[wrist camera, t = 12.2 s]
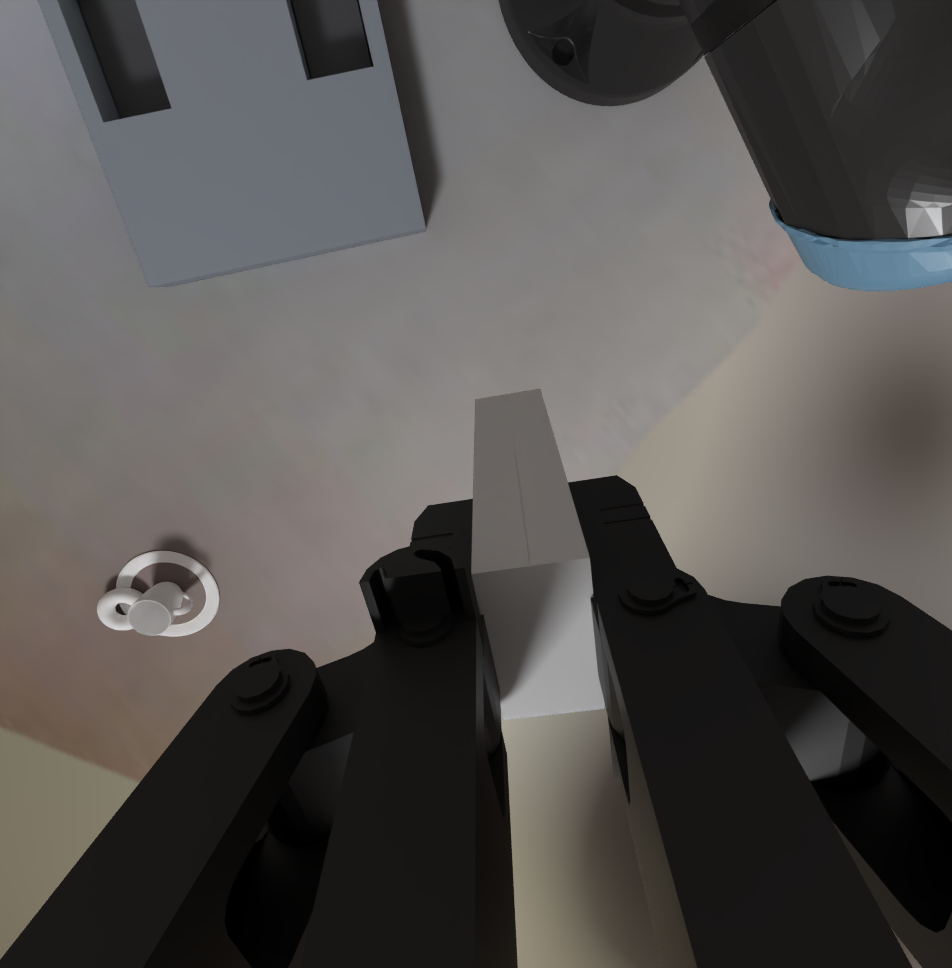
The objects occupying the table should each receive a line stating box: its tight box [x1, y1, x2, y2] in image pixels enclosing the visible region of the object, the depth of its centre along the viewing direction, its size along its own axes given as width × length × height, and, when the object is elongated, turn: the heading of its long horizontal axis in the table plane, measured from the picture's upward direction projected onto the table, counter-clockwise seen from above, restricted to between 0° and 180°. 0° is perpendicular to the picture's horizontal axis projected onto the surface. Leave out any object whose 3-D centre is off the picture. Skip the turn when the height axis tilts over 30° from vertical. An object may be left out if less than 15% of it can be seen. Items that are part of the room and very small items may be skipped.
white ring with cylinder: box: [97, 551, 220, 637], centre depth 45 cm, size 9×8×4 cm
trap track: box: [38, 0, 426, 287], centre depth 31 cm, size 25×18×7 cm
